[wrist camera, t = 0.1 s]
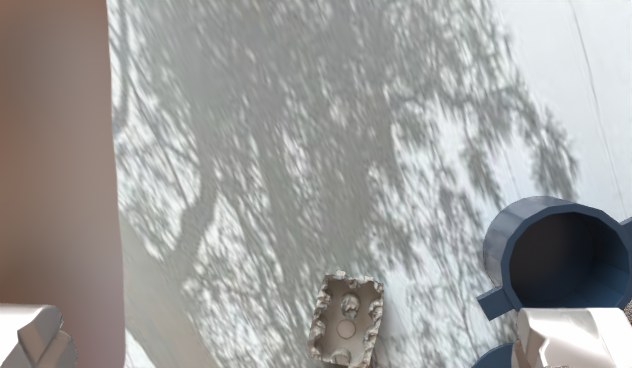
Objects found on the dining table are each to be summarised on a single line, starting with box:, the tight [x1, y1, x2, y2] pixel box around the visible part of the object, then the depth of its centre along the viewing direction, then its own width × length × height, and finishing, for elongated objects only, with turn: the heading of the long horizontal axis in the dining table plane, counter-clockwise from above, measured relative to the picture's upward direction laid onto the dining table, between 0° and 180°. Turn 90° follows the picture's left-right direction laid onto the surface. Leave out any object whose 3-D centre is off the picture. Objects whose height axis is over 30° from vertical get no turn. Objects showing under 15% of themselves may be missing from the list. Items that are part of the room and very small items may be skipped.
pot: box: [476, 196, 632, 321], centre depth 57 cm, size 13×18×10 cm
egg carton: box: [308, 271, 384, 368], centre depth 63 cm, size 11×8×4 cm
